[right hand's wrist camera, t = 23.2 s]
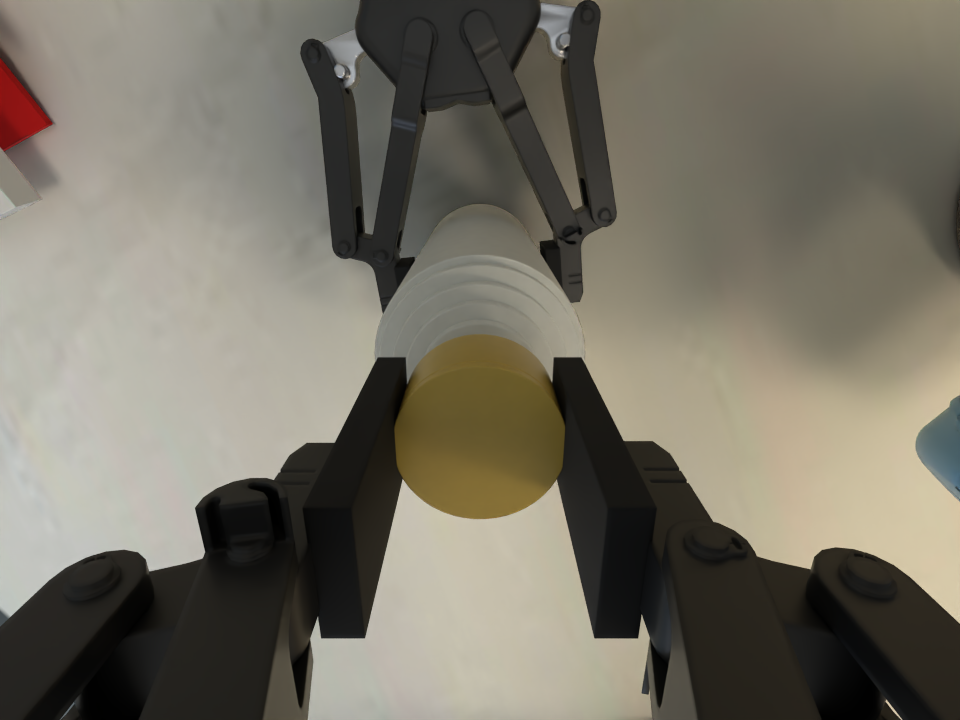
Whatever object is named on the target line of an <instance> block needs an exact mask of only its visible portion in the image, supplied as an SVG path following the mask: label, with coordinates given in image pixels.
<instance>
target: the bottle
mask: <svg viewBox="0 0 960 720" xmlns="http://www.w3.org/2000/svg"><path fill="white" fill-rule="evenodd" d="M472 334H488V335H495V336H499V337H503V338H507V339H509V340H512V341H514V342H516V343H518V344H520V345H522V346H523V347H525V348H526V349H527V350H529V351H530V352H532V353H533V354H534V355H535V356H536V357H537V358H538V359H539V361H540V362H541V363H542V364H543V366H544V367H545V369H546V371H547V372H548V374H549V376H550V379H551V381H552V378H553V359H554V357H582V359H583V361H585V343H584V336H583V331H582V327H581V324H580V321H579V319H578V316H577V314H576V312H575V310H574V308H573V306H572V304H571V302H570V301H569V299H568V298H567V296H566V294H565V293H564V291H563V289H562V288H561V286H560V285H559V283H558V281H557V280H556V278H555V276H554V275H553V273H552V272H551V270H550V268H549V267H548V265H547V263H546V262H545V260H544V258H543V257H542V255H541V254H540V252H539V250H538V249H537V247H536V245H535V244H534V242H533V241H532V239H531V237H530V236H529V234H528V232H527V231H526V229H525V228H524V226H523V225H522V224H521V222H520V221H519V220H518V219H517V218H516V217H514V216H513V215H512V214H511V213H509V212H507V211H506V210H504V209H502V208H499V207H496V206H493V205H488V204H472V205H467V206H463V207H461V208H458V209H456V210H454V211H453V212H451V213H449V214H448V215H447V216H446V217H444V218H443V219H442V220H441V221H440V222H439V224H438V225H437V226H436V228H435V229H434V231H433V232H432V234H431V236H430V237H429V239H428V240H427V242H426V244H425V245H424V247H423V249H422V250H421V252H420V253H419V255H418V257H417V258H416V260H415V262H414V263H413V265H412V266H411V268H410V270H409V271H408V273H407V275H406V276H405V278H404V279H403V281H402V283H401V284H400V286H399V288H398V289H397V291H396V292H395V294H394V296H393V297H392V299H391V301H390V302H389V304H388V306H387V308H386V310H385V312H384V313H383V316H382V318H381V321H380V324H379V327H378V331H377V336H376V341H375V362H376V360H377V358H378V357H406V370H407V384H408V381H409V378H410V376H411V374H412V372H413V370H414V369H415V367H416V366H417V364H418V363H419V362H420V360H421V359H422V358H423V357H424V356H425V355H426V354H427V353H428V352H430V351H431V350H432V349H434V348H435V347H437V346H438V345H440V344H442V343H444V342H446V341H448V340H451V339H453V338H457V337H461V336H464V335H472Z"/></svg>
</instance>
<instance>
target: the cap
mask: <svg viewBox="0 0 960 720" xmlns="http://www.w3.org/2000/svg"><path fill="white" fill-rule="evenodd" d="M394 432H395V447H396V462H397V468H398V471H399V472H400V474H401V476H402V478H403V480H404V481H405V483H406V484H407V485H408V487H409V488H410V489H411V490H412V491H413V492H414V493H415V494H416V495H417V496H418V497H419V498H420V499H422V500H423V501H424V502H426V503H427V504H429V505H430V506H432V507H434V508H436V509H438V510H440V511H442V512H444V513H447V514H450V515H453V516H458V517H462V518H470V519H490V518H498V517H502V516H507V515H509V514H512V513H515V512H518V511H520V510H522V509H524V508H526V507H528V506H529V505H531V504H533V503H534V502H536V501H537V500H538V499H539V498H541V497H542V496H543V495H544V494H545V493H546V492H547V491H548V490H549V489H550V488H551V486H552V485H553V484H554V482H555V481H556V479H557V478H558V476H559V474H560V472H561V470H562V467H563V453H564V438H565V422H564V419H563V416H562V412H561V409H560V406H559V403H558V400H557V397H556V393H555V390H554V387H553V384H552V381H551V379H550V376H549V374H548V372H547V371H546V369H545V367H544V366H543V364H542V363H541V362H540V361H539V359H538V358H537V357H536V356H535V355H534V354H533V353H532V352H530V351H529V350H527V349H526V348H525V347H523V346H522V345H520V344H518V343H516V342H514V341H512V340H509V339H507V338H503V337H499V336H495V335H488V334H472V335H464V336H461V337H457V338H453V339H451V340H448V341H446V342H444V343H442V344H440V345H438V346H437V347H435V348H434V349H432V350H431V351H430V352H428V353H427V354H426V355H425V356H424V357H423V358H422V359H421V360H420V362H419V363H418V364H417V366H416V367H415V369H414V370H413V372H412V374H411V376H410V378H409V381H408V384H407V387H406V390H405V393H404V396H403V399H402V402H401V406H400V409H399V412H398V415H397V418H396V421H395V425H394Z"/></svg>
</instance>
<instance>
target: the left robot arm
mask: <svg viewBox="0 0 960 720" xmlns="http://www.w3.org/2000/svg"><path fill="white" fill-rule="evenodd" d="M600 18H601V17H600V9H599V6H598V5H597V4H596V3H595V2H594V1H591V0H584V1H582V2H581V3H579V4H578V6H577V7H571V6H563V5H555V4H547V3H540V0H360V6H359V11H358V15H357V18H356V22H355V29H353V30H351V31H349V32H346V33H344V34H342V35H339V36H337V37H335V38H333V39H330V40H328V41H326V42H323V43H321V42H320V41H319V40H316V39H308V40H306V41H305V42H304V43H303V45H302V47H301V52H300V54H301V58H302V61H303V63H304V66H305V68H306V70H307V73H308V75H309V77H310V80H311V82H312V84H313V87H314V89H315V92H316V94H317V96H318V102H319V112H320V123H321V133H322V143H323V154H324V164H325V175H326V185H327V195H328V206H329V216H330V226H331V237H332V247H333V251H334V253H335V254H336V255H337V256H338V257H340V258H343V259H348V258H352V259H356V260H360V261H364V262H366V263H368V264H370V266H371V267H372V268H373V269H374V272H375V276H376V281H377V286H378V291H379V296H380V301H381V307H382V312H383V313H384V312H385V310H386V308H387V306H388V304H389V302H390V301H391V299H392V297H393V296H394V294H395V292H396V291H397V289H398V288H399V286H400V284H401V283H402V281H403V279H404V278H405V276H406V275H407V273H408V271H409V270H410V268H411V266H412V265H413V263H414V262H415V258H414V257H409V258H401V259H400V256H399V253H400V251H401V248H400V246H401V240H402V235H403V230H404V225H405V220H406V214H407V209H408V204H409V199H410V194H411V188H412V183H413V178H414V173H415V167H416V162H417V157H418V152H419V147H420V141H421V136H422V132H423V130H424V126H425V121H426V116H427V111H428V112H433V111H441V110H445V109H447V108H450V107H452V106H454V105H456V104H465V105H472V106H478V105H486V104H490V102H492V104H493V106H494V108H495V111H496V113H497V115H498V117H499V119H500V121H501V122H502V124H503V126H504V129H505V131H506V133H507V135H508V137H509V139H510V141H511V143H512V146H513V148H514V150H515V152H516V154H517V156H518V158H519V161H520V163H521V165H522V167H523V169H524V171H525V173H526V176H527V178H528V180H529V182H530V184H531V186H532V188H533V191H534V193H535V195H536V197H537V199H538V201H539V203H540V206H541V208H542V210H543V212H544V214H545V216H546V218H547V221H548V223H549V225H550V227H551V229H552V231H553V238H554V240H548V241H540V253H541V255H542V257H543V258H544V260H545V262H546V263H547V265H548V267H549V268H550V270H551V272H552V273H553V275H554V276H555V278H556V280H557V281H558V283H559V285H560V286H561V288H562V289H563V291H564V293H565V294H566V296H567V298H568V299H569V301H570V302H571V303H573V302H580V300H581V297H582V294H583V283H582V264H581V244H582V241H583V239H584V238H585V237H586V236H587V235H588V234H589V233H591V232H593V231H595V230H597V229H599V228H601V227H607V226H609V225H611V224H612V223H613V222H614V221H615V219H616V214H617V211H616V205H615V198H614V192H613V185H612V178H611V172H610V165H609V158H608V152H607V145H606V139H605V132H604V125H603V119H602V112H601V106H600V99H599V92H598V86H597V79H596V72H595V66H594V55H595V49H596V42H597V36H598V30H599V24H600ZM534 32H538V33H540V34H542V35H543V36H544V37H545V38H546V41H547V45H548V52H549V55H550V56H551V57H552V58H553V59H554V60H557V61H561V82H562V89H563V94H564V100H565V106H566V112H567V118H568V123H569V129H570V135H571V141H572V147H573V152H574V158H575V164H576V170H577V176H578V181H579V187H580V193H581V199H582V204H583V206H581V207H579V208H577V209H575V210H573V209H572V207H571V204H570V202H569V200H568V198H567V196H566V193H565V191H564V189H563V187H562V184H561V182H560V180H559V178H558V175H557V173H556V171H555V169H554V166H553V164H552V162H551V160H550V158H549V155H548V153H547V151H546V149H545V146H544V144H543V142H542V140H541V137H540V135H539V133H538V131H537V128H536V126H535V124H534V122H533V120H532V117H531V115H530V113H529V111H528V108H527V105H526V102H525V99H524V97H523V94H522V92H521V90H520V87H519V85H518V83H517V81H516V78H515V76H514V72H515V70H516V68H517V66H518V64H519V62H520V60H521V58H522V56H523V54H524V52H525V50H526V48H527V46H528V44H529V42H530V40H531V38H532V36H533V34H534ZM367 55H368V56H369V57H370V58H371V60H372V61H373V62H374V63H375V64H376V65H377V66H378V68H379V69H380V70H381V71H382V72H383V73H384V74H385V75H386V77H387V78H388V79H389V80H390V81H391V82H392V83H393V85H394V86H395V87H396V93H395V99H394V105H393V110H392V119H391V121H392V126H391V133H390V138H389V144H388V150H387V156H386V162H385V167H384V173H383V179H382V185H381V191H380V197H379V202H378V208H377V214H376V220H375V226H374V232H373V235H371V234H367V233H365V226H364V212H363V199H362V185H361V172H360V158H359V144H358V131H357V117H356V108H355V101H354V97H353V93H352V90H351V89H354V88H355V87H356V86H357V85H358V84H359V81H360V71H359V66H360V62H361V60H362V59H363V58H364V57H365V56H367ZM956 226H957V238H958V244H959V248H960V198H959V203H958V209H957V223H956ZM916 452H917V455H918V457H919V458H920V460H921V461H922V463H923V464H924V465H925V466H926V467H927V469H928V470H929V471H930V472H931V473H932V474H933V475H934V476H935V477H936V478H937V479H938V480H939V481H940V482H941V483H942V485H943V486H944V487H945V488H946V489H947V490H948V491H949V492H950V493H951V494H952V495H953V496H954V497H955V498H956V499H957V500H958V501H959V502H960V395H959V396H957V397H956V398H954V399H953V400H952V401H951V402H950V407H949V408H947V409H946V410H945V411H944V412H942V413H941V414H940V415H939V416H937V417H936V418H935V419H934V420H932V421H931V422H930V423H929V424H927V425H926V426H925V427H924V428H923V429H922V430H921V431H920V432H919V434H918V436H917V439H916Z"/></svg>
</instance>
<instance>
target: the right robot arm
mask: <svg viewBox="0 0 960 720" xmlns="http://www.w3.org/2000/svg"><path fill="white" fill-rule="evenodd" d="M552 384H553V387H554V390H555V393H556V397H557V400H558V403H559V406H560V409H561V412H562V416H563V419H564V422H565V438H564V453H563V467H562V470H561V472H560V474H559V476H558V478H557V482H558V486H559V490H560V494H561V499H562V503H563V507H564V511H565V516H566V520H567V524H568V528H569V533H570V537H571V541H572V545H573V549H574V554H575V558H576V562H577V566H578V571H579V575H580V579H581V583H582V588H583V592H584V596H585V600H586V604H587V609H588V613H589V617H590V621H591V626H592V630H593V634H594V638H638V635H639V629H640V622H641V615H642V616H643V619H644V622H645V625H646V628H647V631H648V633H649V636H650V642H649V648H648V655H647V661H646V667H645V674H644V680H643V687H642V693H643V694H649V689H650V698H651V708H652V718H653V720H901V719H900V718H899V717H898V716H897V715H896V714H895V713H894V712H893V711H892V709H891V708H890V707H889V706H888V704H887V703H886V702H885V701H886V699H887V701H888V702H889V703H890V704H891V706H892V707H893V708H894V709H895V711H896V712H897V713H898V715H899V716H900V717H901V718H902V720H960V624H959V623H958V622H957V621H956V620H955V619H954V618H953V617H952V616H951V615H950V614H949V613H948V612H947V611H946V610H944V609H943V608H942V607H941V606H940V605H939V604H938V603H937V602H936V601H935V600H934V599H933V598H932V597H931V596H930V595H928V594H927V593H926V592H925V591H924V590H923V589H922V588H921V587H920V586H919V585H918V584H917V583H916V582H915V581H913V580H912V579H911V578H910V577H909V576H908V575H906V574H905V573H903V572H902V571H901V570H899V569H898V568H897V567H895V566H894V565H892V564H890V563H888V562H886V561H884V560H882V559H880V558H878V557H876V556H874V555H871V554H868V553H864V552H862V551H858V550H855V549H846V548H830V549H825V550H822V551H821V552H819V553H818V554H817V555H816V556H815V557H814V560H813V563H812V567H811V569H806V568H801V567H797V566H792V565H788V564H783V563H779V562H774V561H770V560H767V559H764V558H760V557H757V556H756V554H755V551H754V550H753V548H752V547H751V545H750V544H749V543H748V541H747V540H746V539H745V538H743V537H742V536H741V535H739V534H738V533H737V532H736V531H734V530H732V529H730V528H728V527H726V526H723V525H721V524H719V523H715V522H713V521H712V519H711V518H710V516H709V514H708V513H707V511H706V510H705V508H704V507H703V505H702V503H701V502H700V500H699V499H698V497H697V496H696V494H695V492H694V491H693V489H692V488H691V486H690V484H689V483H687V480H686V478H685V477H684V475H683V473H682V472H681V471H679V467H678V466H677V464H676V462H675V461H674V459H673V458H672V456H671V455H670V453H668V452H667V451H666V450H664V449H663V448H661V447H660V446H659V445H657V444H656V443H654V442H653V441H623V439H622V437H621V435H620V433H619V431H618V429H617V427H616V425H615V423H614V421H613V419H612V417H611V415H610V413H609V411H608V409H607V407H606V405H605V403H604V401H603V399H602V397H601V395H600V393H599V391H598V389H597V387H596V385H595V383H594V381H593V379H592V377H591V375H590V373H589V371H588V369H587V367H586V365H585V363H584V361H583V359H582V357H554V359H553V378H552ZM406 387H407V370H406V357H378V358H377V360H376V362H375V364H374V366H373V368H372V370H371V372H370V374H369V376H368V378H367V380H366V382H365V384H364V386H363V388H362V390H361V392H360V394H359V396H358V398H357V400H356V402H355V404H354V406H353V408H352V410H351V412H350V414H349V416H348V418H347V420H346V422H345V424H344V426H343V428H342V430H341V432H340V434H339V436H338V438H337V440H336V442H335V443H306V444H305V445H303V446H302V447H301V448H299V449H298V450H296V451H295V452H294V453H292V454H291V455H290V456H289V457H288V459H287V460H286V462H285V464H284V465H283V467H282V468H281V472H280V473H278V475H277V476H276V478H275V479H274V480H271V479H268V478H249V479H244V480H239V481H235V482H231V483H229V484H227V485H224V486H222V487H219V488H217V489H215V490H214V491H212V492H211V493H209V494H208V495H206V496H205V497H203V499H202V500H201V501H200V502H199V504H198V505H197V506H196V507H195V510H196V514H197V519H198V523H199V527H200V531H201V536H202V540H203V544H204V548H205V554H204V557H203V559H200V560H197V561H193V562H190V563H186V564H182V565H177V566H173V567H168V568H164V569H159V570H155V571H150V572H149V570H148V566H147V563H146V559H145V558H143V557H142V556H141V555H140V554H139V553H138V552H133V551H128V550H117V551H108V552H103V553H100V554H97V555H93V556H90V557H87V558H85V559H83V560H81V561H79V562H77V563H75V564H73V565H71V566H69V567H67V568H65V569H64V570H63V571H61V572H60V573H59V574H57V575H56V576H55V577H53V578H52V579H51V580H49V581H48V582H47V583H46V584H45V585H44V586H43V587H42V588H41V589H40V590H39V591H38V592H37V593H35V594H34V595H33V596H32V597H31V598H30V599H29V600H28V601H27V602H26V603H25V604H24V605H23V606H22V607H21V608H20V609H19V610H17V611H16V612H15V613H14V614H13V615H12V616H11V617H10V618H9V619H8V620H7V621H6V622H5V623H4V624H3V625H2V626H0V720H60V719H61V717H62V716H63V715H64V714H65V712H66V711H67V710H68V709H69V707H70V706H71V705H72V703H73V702H74V703H75V704H74V705H73V707H72V708H71V709H70V710H69V712H68V713H67V714H66V715H65V716H64V717H63V718H62V719H61V720H308V710H309V700H310V689H311V679H312V669H313V655H312V648H311V642H310V637H311V634H312V631H313V629H314V626H315V623H316V620H317V617H318V619H319V626H320V633H321V638H365V636H366V632H367V627H368V623H369V619H370V615H371V610H372V606H373V602H374V598H375V594H376V589H377V585H378V581H379V577H380V572H381V568H382V564H383V560H384V555H385V551H386V547H387V543H388V539H389V534H390V530H391V526H392V522H393V517H394V513H395V509H396V505H397V500H398V496H399V492H400V488H401V483H402V479H403V478H402V476H401V474H400V472H399V471H398V468H397V462H396V447H395V432H394V425H395V421H396V418H397V415H398V412H399V409H400V406H401V402H402V399H403V396H404V393H405V390H406Z"/></svg>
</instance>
